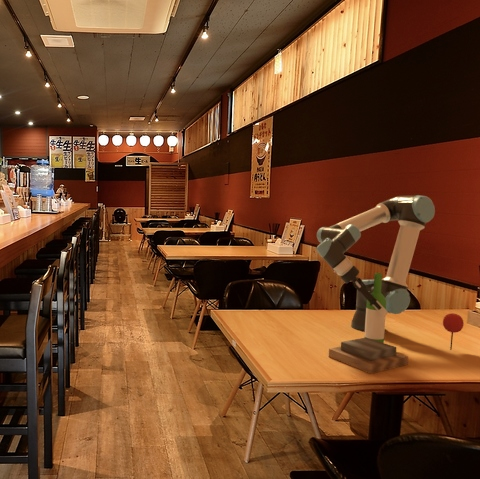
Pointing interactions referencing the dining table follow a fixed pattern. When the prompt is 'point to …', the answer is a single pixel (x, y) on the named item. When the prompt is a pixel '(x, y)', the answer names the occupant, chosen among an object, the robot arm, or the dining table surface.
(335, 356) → the plinth
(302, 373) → the dining table surface
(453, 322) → the lollipop
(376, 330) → the wine bottle
